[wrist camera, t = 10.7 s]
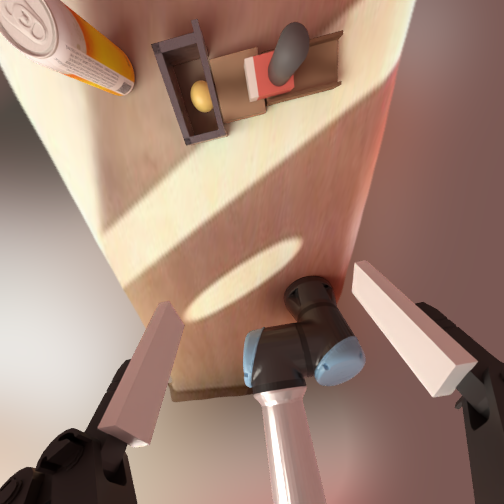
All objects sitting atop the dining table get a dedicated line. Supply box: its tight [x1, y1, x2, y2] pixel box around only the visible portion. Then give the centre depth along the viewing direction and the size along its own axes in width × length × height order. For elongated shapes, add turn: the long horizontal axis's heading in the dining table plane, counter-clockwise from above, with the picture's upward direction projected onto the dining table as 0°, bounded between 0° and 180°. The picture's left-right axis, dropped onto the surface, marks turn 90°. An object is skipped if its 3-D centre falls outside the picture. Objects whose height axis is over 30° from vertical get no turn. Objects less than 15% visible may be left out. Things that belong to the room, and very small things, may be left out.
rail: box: [262, 30, 343, 106], centre depth 30 cm, size 6×12×3 cm, turn 102°
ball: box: [190, 80, 213, 112], centre depth 30 cm, size 4×4×4 cm
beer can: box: [0, 0, 135, 96], centre depth 23 cm, size 6×6×15 cm
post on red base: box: [244, 22, 310, 102], centre depth 24 cm, size 4×7×11 cm, turn 102°
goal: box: [151, 19, 228, 145], centre depth 28 cm, size 12×7×8 cm, turn 12°
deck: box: [209, 47, 266, 124], centre depth 30 cm, size 8×8×2 cm
